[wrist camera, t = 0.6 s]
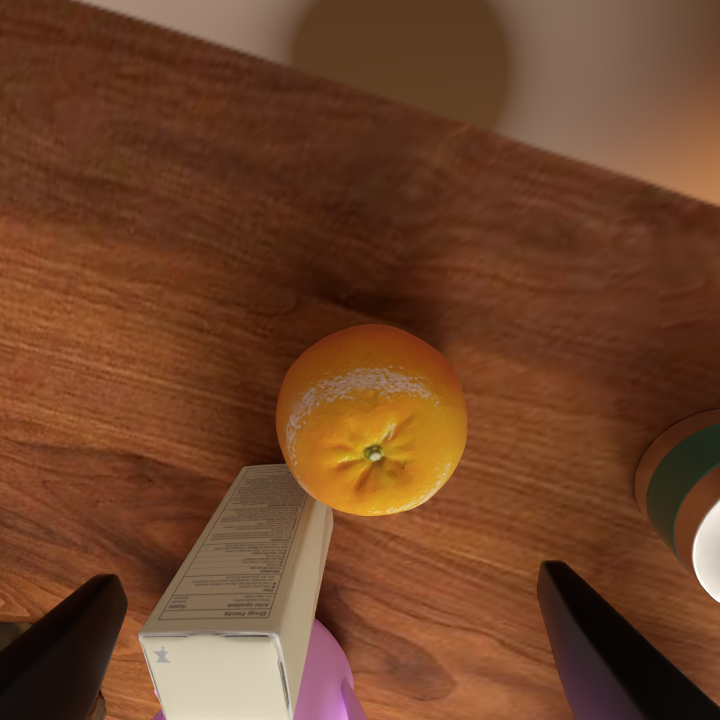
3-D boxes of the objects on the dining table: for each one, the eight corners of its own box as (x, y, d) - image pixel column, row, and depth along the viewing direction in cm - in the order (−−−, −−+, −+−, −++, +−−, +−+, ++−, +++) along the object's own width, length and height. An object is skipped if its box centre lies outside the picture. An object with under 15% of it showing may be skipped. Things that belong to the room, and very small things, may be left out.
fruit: (421, 547, 21) (395, 574, 14) (285, 464, 24) (204, 449, 17) (494, 397, 23) (505, 349, 15) (356, 335, 26) (310, 269, 18)
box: (254, 525, 26) (155, 723, 16) (242, 462, 25) (126, 633, 15) (339, 524, 26) (294, 731, 15) (331, 460, 25) (276, 637, 14)
